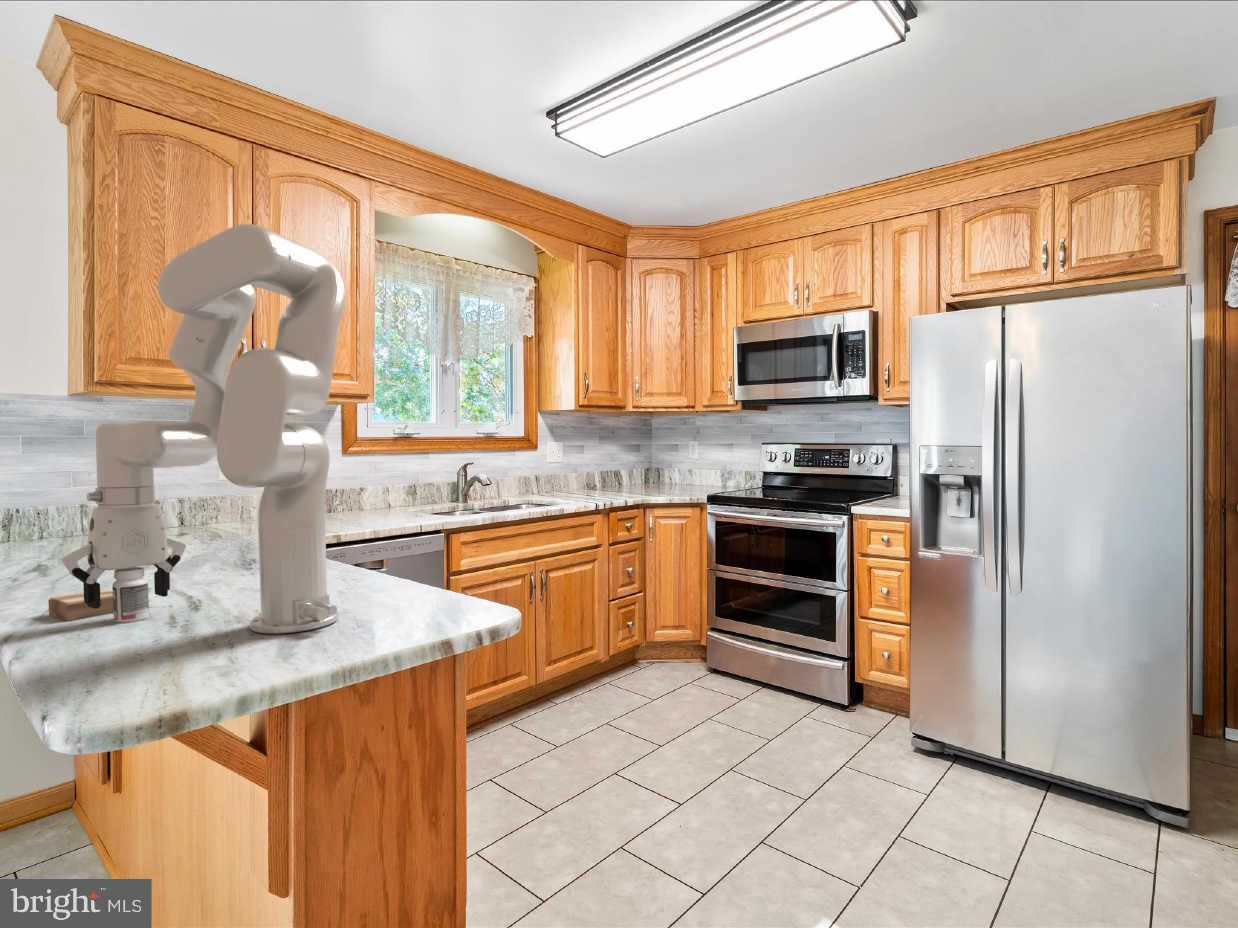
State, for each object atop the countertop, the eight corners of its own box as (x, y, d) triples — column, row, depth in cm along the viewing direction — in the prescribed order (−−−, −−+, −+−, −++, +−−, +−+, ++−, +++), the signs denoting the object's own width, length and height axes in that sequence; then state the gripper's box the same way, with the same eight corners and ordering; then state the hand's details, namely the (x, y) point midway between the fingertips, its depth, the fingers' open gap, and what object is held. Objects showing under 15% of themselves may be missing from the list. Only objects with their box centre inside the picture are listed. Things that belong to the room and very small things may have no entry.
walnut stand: (124, 610, 118) (123, 593, 118) (67, 621, 111) (67, 603, 111) (104, 605, 122) (103, 588, 122) (49, 615, 115) (48, 597, 115)
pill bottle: (156, 615, 114) (154, 566, 113) (133, 623, 109) (131, 571, 109) (130, 615, 114) (128, 566, 114) (106, 622, 110) (104, 571, 109)
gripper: (71, 502, 102) (74, 615, 102) (194, 495, 116) (196, 593, 117) (51, 500, 106) (54, 609, 106) (172, 493, 120) (175, 588, 121)
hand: (128, 601), depth 112 cm, fingers open, 9 cm apart
